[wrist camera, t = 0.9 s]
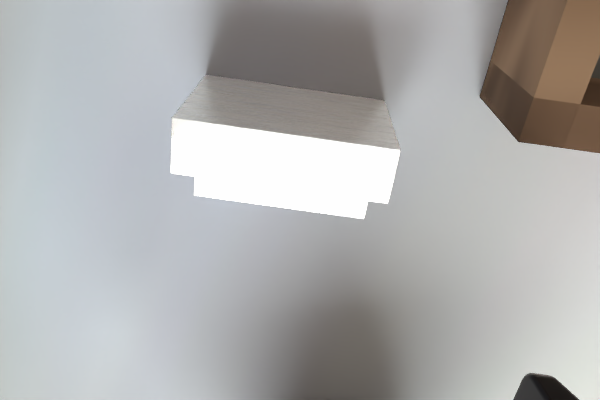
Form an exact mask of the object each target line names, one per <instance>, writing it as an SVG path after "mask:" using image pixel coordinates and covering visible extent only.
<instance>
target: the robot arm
mask: <svg viewBox="0 0 600 400" xmlns="http://www.w3.org/2000/svg"><path fill="white" fill-rule="evenodd" d="M513 400H579V399H578V398H577V397H576V396H575V395H573V394H572V393H571V392H570V391H569V390H568V389H567V388H566V387H564V386H563V385H562V384H561V383H560V382H559V381H558V380H557V379H555V378H554V377H552V376H549V375H543V374H535V373H529V374H526V375H525V376H524V378H523V379H522V382H521V384H520V386H519V388H518V391H517V393H516V395H515V397H514V399H513Z"/></svg>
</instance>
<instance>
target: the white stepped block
mask: <svg viewBox="0 0 600 400" xmlns="http://www.w3.org/2000/svg"><path fill="white" fill-rule="evenodd" d="M400 151H401V149H400V146H399V143H398V140H397V137H396V134H395V131H394V128H393V124H392V121H391V118H390V115H389V112H388V109H387V106H386V103H385V100H379V99H372V98H365V97H358V96H352V95H345V94H338V93H331V92H324V91H317V90H310V89H303V88H296V87H289V86H282V85H275V84H269V83H262V82H255V81H248V80H241V79H234V78H227V77H220V76H213V75H205V76H204V77H203V79H202V80H201V81H200V82H199V84H198V85H197V86H196V87H195V89H194V90H193V91H192V93H191V94H190V95H189V96H188V98H187V99H186V100H185V101H184V103H183V104H182V105H181V107H180V108H179V109H178V110H177V112H176V113H175V114H174V115H173V117H172V131H171V173H173V174H180V175H187V176H194V177H195V181H194V195H195V196H202V197H209V198H216V199H223V200H231V201H238V202H245V203H252V204H259V205H266V206H274V207H281V208H288V209H295V210H302V211H309V212H317V213H324V214H331V215H338V216H345V217H352V218H359V219H364V217H365V213H366V208H367V203H368V201H372V202H379V203H386V204H388V201H389V197H390V193H391V189H392V185H393V181H394V176H395V172H396V168H397V164H398V160H399V156H400Z"/></svg>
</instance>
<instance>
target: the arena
mask: <svg viewBox="0 0 600 400" xmlns="http://www.w3.org/2000/svg"><path fill="white" fill-rule="evenodd" d="M480 98H481V99H482V100H483V101H484V102H485V104H486V105H487V106H488V107H489V108H490V109H491V111H492V112H493V113H494V114H495V115H496V116H497V118H498V119H499V120H500V121H501V122H502V123H503V124H504V126H505V127H506V128H507V129H508V130H509V131H510V133H511V134H512V135H513V136H514V137H515V138H516V139H517V141H518V142H524V143H531V144H538V145H545V146H552V147H560V148H567V149H574V150H581V151H588V152H595V153H600V0H508V4H507V7H506V10H505V14H504V17H503V20H502V24H501V27H500V30H499V34H498V37H497V40H496V44H495V47H494V51H493V54H492V57H491V61H490V64H489V67H488V71H487V74H486V77H485V81H484V84H483V88H482V91H481V94H480Z"/></svg>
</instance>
